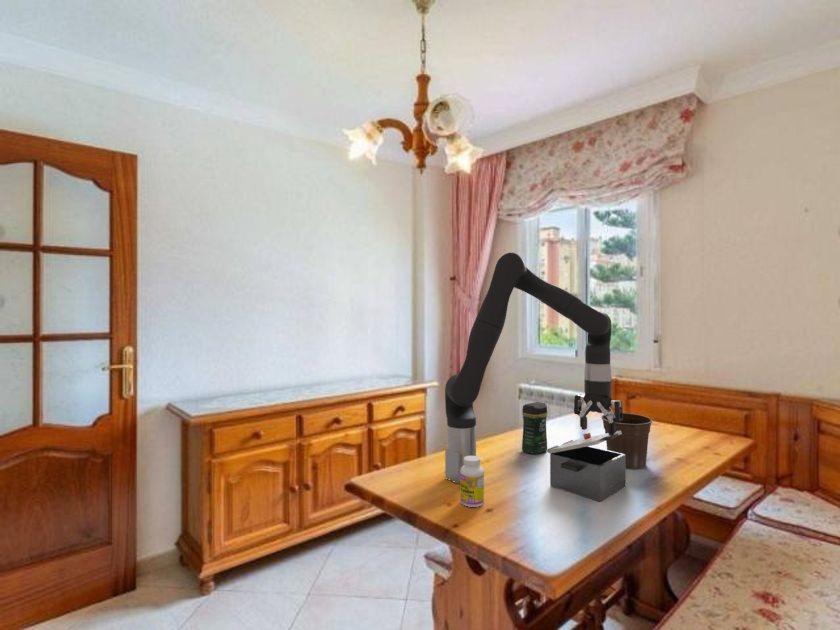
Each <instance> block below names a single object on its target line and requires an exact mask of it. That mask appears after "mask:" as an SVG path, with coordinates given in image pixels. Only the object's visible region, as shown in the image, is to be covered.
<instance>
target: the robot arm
mask: <svg viewBox="0 0 840 630" xmlns="http://www.w3.org/2000/svg"><path fill="white" fill-rule="evenodd" d="M514 288H515V289H518V290H520V291H521V292H524V293H526V294H529V295H530V296H531V297H534V298H535V299H537V300H538V301H540V302H541V303H543V304H545V305H546V306H547V307H548V308H550V309H553V311H555V312H557V313H558V314H560V315H562V317H565V318H566V319H568V320H570V321H571V322H573V323H574V324H575V325H576V326H578V327H579V328H580V329H582V330H583V331H585V333H587V344H586V347H585V353H584V355H585V356H584V358H585V362H584V375H583V376H584V379H583V380H584V387H583V388H584V395H582V394H580V393H579V394H576V395H574V402H573V403H574V404H573V405H574V406H573V414H574V415H576V416H579V423H580V424H579V427H580V428H581V430H587V429H588V417H587V415H588V414H589V413H590V412H592V413H595V412H596V413H598V414H602V415H605V416H606V417H607V419H608V420H609V422H610V423H609V435H611V436H612V435H614V433H616V422H619V421H622V420H623V413H624V409H623V408H624V407H623V401H622V400H620V399H619V400H612V399H613V398H612V379H613V377H612V367H611V366H612V365H611V341H612V340H611V339H612V338H611V337H612V320H611V317H610V316H609V315H608V314H607V313H605V312H604V311H599V310H597V309H595V308H593V307H592V306H590V305H588V304H586V303H585V302H584V300H583V299H581V298H579V297H578V296H576V295H574V294H573V293H571V292H569V291H567V290H566V289H564V288H562V287H560V286H558V285H555V284H552V283H551V282H548V281H546V280H544V279H542V278H541V277H539V276H537V275H536V274H535V273H534V272H533V271H532V270H531V269H529V268H528V267H527V266H526V263H525V261H524V260H523V258H522V257H521V256H520V255H519V254H518V253H516V252H508V253H504V254H503V255H502V256H500V258H499V259H498V260H497V261H496V263H495V267H494V271H493V273H492V276H491V281H490V284H489V288H488V290H487V293H486V294H485V297H484V299H483V302H482V303H481V306H480V309H479V311H478V313H477V315H476V317H475V320H474V322H473V325H472V327H471V330H470V333H469V336H468V341H467V342H468V343H467V349H466V354H465V359H464V362H463V365H462V366H461V369H460V371H459V373H458V374H457V373H456V374H453V375H452V376H450V377H448V379H447V381H446V384H445V388H444V398H445V399H444V400H445V405H444V406H445V415H446V422H447V425H446V427H447V428H446V433H447V436H446V439H447V444H446V445H447V446H446V447H447V448H446V449H445V452H444V455H445V457H444V458H445V459H444V460H445V461H444V465H445V467H444V468H445V470H444V474H445V478H447V479H450V480H452V481H455V482H457V483H456V484H458V483H460V470H461V468H462V466H464V465H465V464H464V457H466V456H477V418H476V414H475V411H474V406H473V405H474V402H476V400H477V399H478V396H479V394H480V391H481V385H482V384H483V383H482V382H483V381H484V380H483V379H484V376H485V372H486V370H487V367H488V365H489V362H490V360H491V359H492V358H491V357H492V355H493V353H494V351H495V348H496V346H497V344H498V341H499V340H500V337H501V335H502V333H503V329H504V326H505V323H506V318H507V312H508V306H509V302H510V298H511V295H512V293H513V290H514ZM583 403H585V405H584V407H583V406H582V405H583ZM582 407H583V409H582ZM611 407H613V409H614V411H613V409H612V408H611ZM613 413H615V415H614V414H613ZM447 479H446V480H447ZM450 480H449V481H450ZM452 481H451V482H452ZM455 482H454V483H455Z"/></svg>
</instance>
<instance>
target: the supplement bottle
mask: <svg viewBox="0 0 840 630" xmlns="http://www.w3.org/2000/svg"><path fill="white" fill-rule="evenodd" d="M481 463H482V461H481V457H479V456H478V455H476V456H466V457H464V464H465V465H464V466H462V468H461V470H460V484H459V486H460V487H459V490H460V491H459V493H460V494H459V497H460V498H459V501H460V504H461V505H462V504H463V505H462V506H464V505H465V506H464V507H466V506H468V507H467V508H470V507H477V508H480V507H482V506H483V505H484V504H485V471H484V467H482V466H481ZM479 506H480V507H479Z"/></svg>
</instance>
